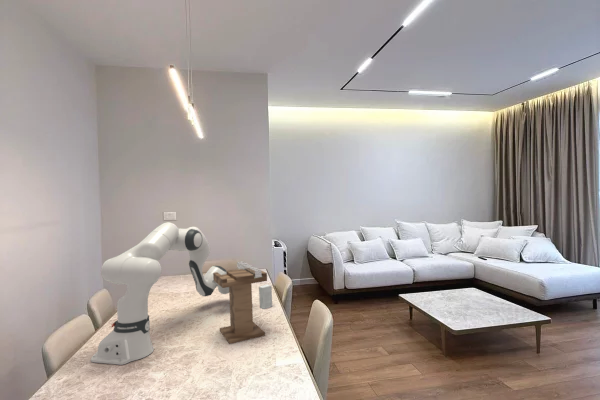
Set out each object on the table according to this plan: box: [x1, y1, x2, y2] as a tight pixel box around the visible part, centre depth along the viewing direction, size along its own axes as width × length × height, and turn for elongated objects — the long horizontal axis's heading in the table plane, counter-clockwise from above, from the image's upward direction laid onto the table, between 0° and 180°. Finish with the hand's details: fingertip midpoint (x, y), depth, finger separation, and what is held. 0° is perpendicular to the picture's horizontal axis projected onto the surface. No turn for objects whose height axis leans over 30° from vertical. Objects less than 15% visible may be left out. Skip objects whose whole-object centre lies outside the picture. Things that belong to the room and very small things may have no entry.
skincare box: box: [258, 284, 273, 310], centre depth 188 cm, size 6×4×12 cm
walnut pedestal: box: [213, 268, 268, 345], centre depth 152 cm, size 16×20×28 cm
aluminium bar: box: [236, 260, 262, 278], centre depth 160 cm, size 26×3×3 cm, turn 28°
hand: (235, 271), depth 178 cm, fingers open, 8 cm apart
